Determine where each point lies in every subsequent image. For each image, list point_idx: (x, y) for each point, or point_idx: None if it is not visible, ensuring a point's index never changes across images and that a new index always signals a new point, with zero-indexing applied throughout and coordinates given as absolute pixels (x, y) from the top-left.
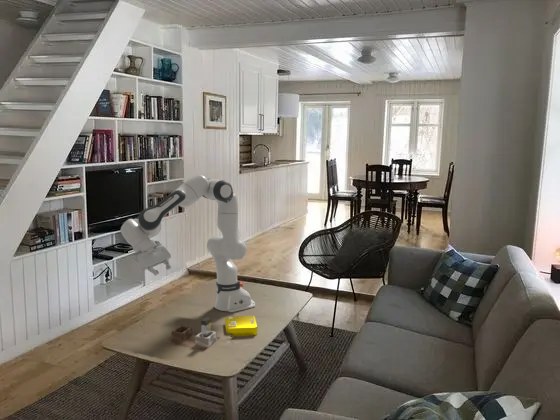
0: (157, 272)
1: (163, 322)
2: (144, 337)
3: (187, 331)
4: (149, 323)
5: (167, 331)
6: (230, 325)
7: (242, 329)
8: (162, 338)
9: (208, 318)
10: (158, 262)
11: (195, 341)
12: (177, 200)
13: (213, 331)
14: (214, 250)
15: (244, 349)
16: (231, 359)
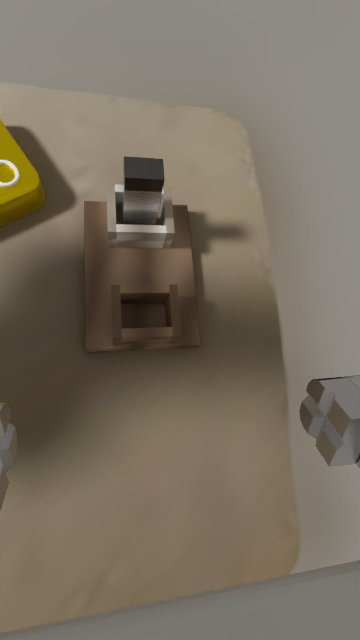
0: (349, 381)
1: (19, 517)
2: (185, 472)
3: (144, 286)
4: (56, 574)
5: (98, 426)
6: (7, 181)
7: (15, 141)
8: (160, 399)
9: (130, 163)
10: (264, 581)
11: (171, 242)
12: None
13: (109, 195)
14: None
15: (109, 126)
16: (178, 137)
